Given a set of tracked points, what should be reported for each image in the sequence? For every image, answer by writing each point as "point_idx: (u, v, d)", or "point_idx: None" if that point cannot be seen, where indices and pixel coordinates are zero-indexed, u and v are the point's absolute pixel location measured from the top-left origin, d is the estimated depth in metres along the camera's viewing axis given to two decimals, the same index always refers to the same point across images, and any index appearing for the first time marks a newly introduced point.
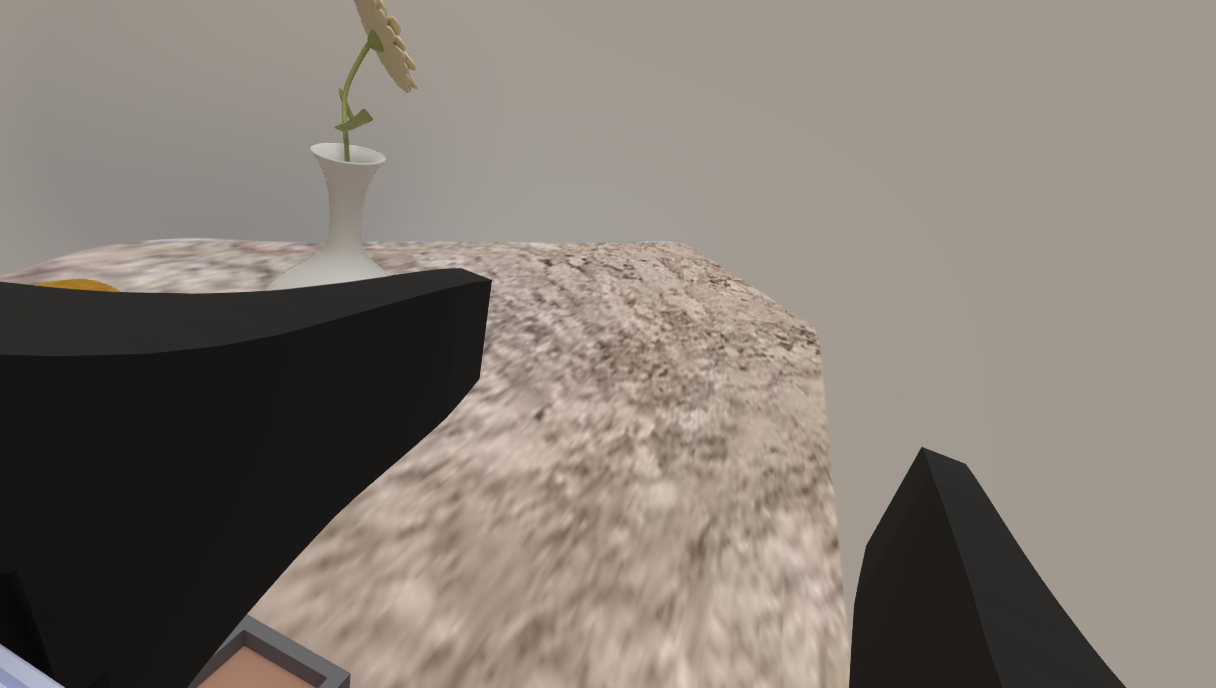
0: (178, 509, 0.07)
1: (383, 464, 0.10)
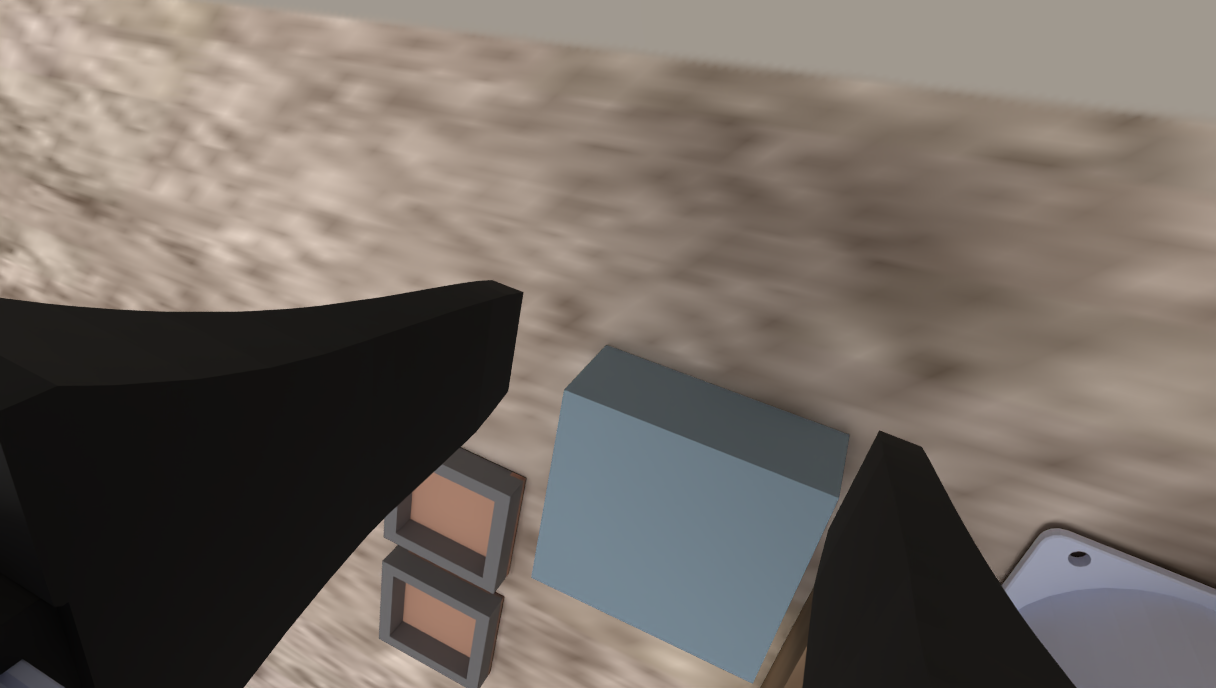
0: (223, 534, 0.07)
1: (416, 480, 0.10)
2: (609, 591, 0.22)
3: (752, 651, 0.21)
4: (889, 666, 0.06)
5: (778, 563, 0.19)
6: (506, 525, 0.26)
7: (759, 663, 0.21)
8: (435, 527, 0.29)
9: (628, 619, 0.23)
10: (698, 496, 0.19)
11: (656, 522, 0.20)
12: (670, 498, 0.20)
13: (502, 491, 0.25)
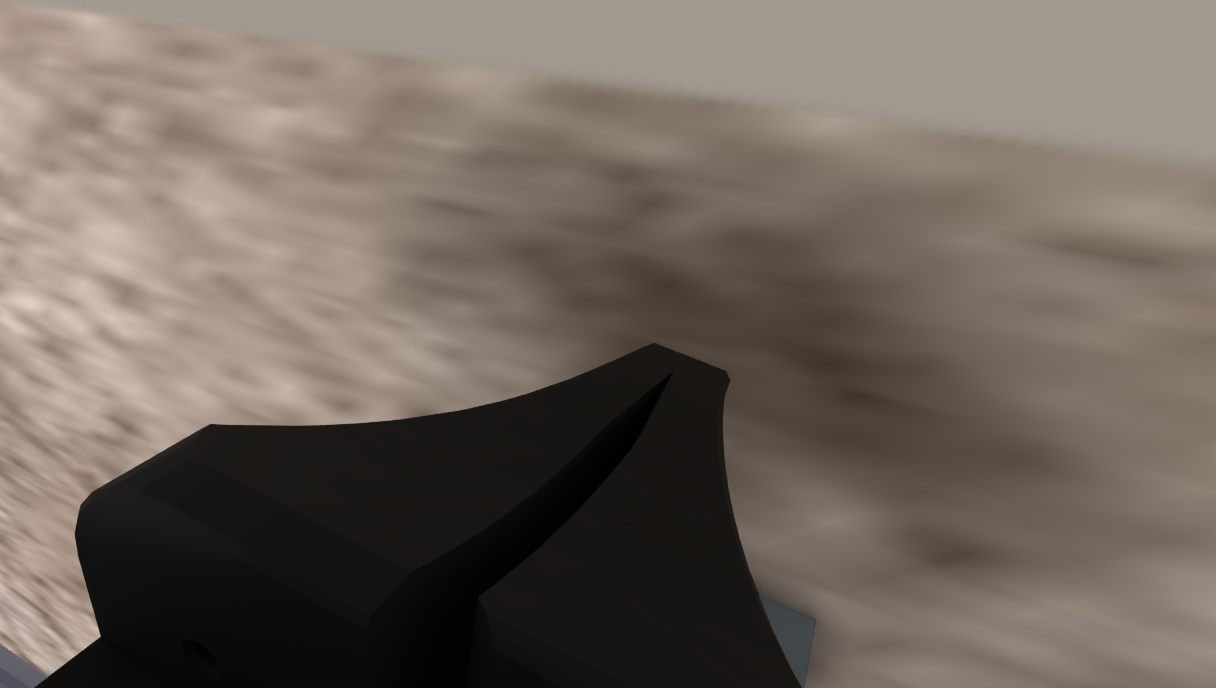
0: None
1: None
2: None
3: None
4: None
5: None
6: None
7: None
8: None
9: None
10: None
11: None
12: None
13: None
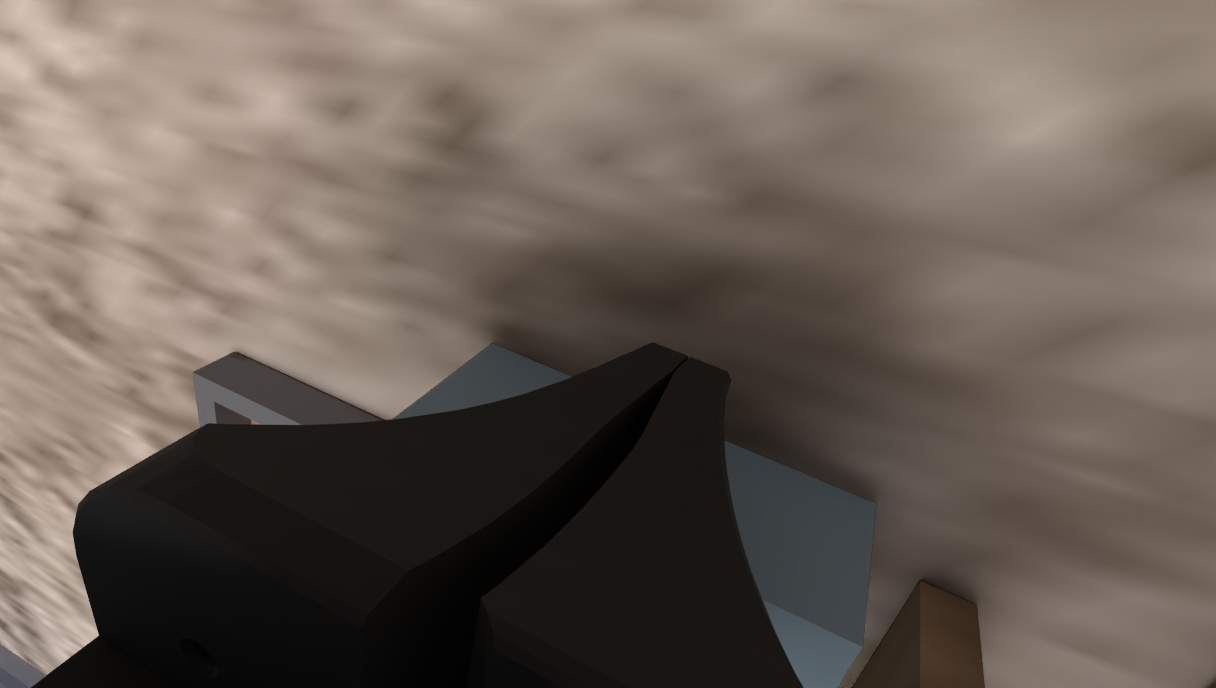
0: None
1: None
2: None
3: None
4: None
5: None
6: None
7: None
8: None
9: None
10: None
11: None
12: None
13: None
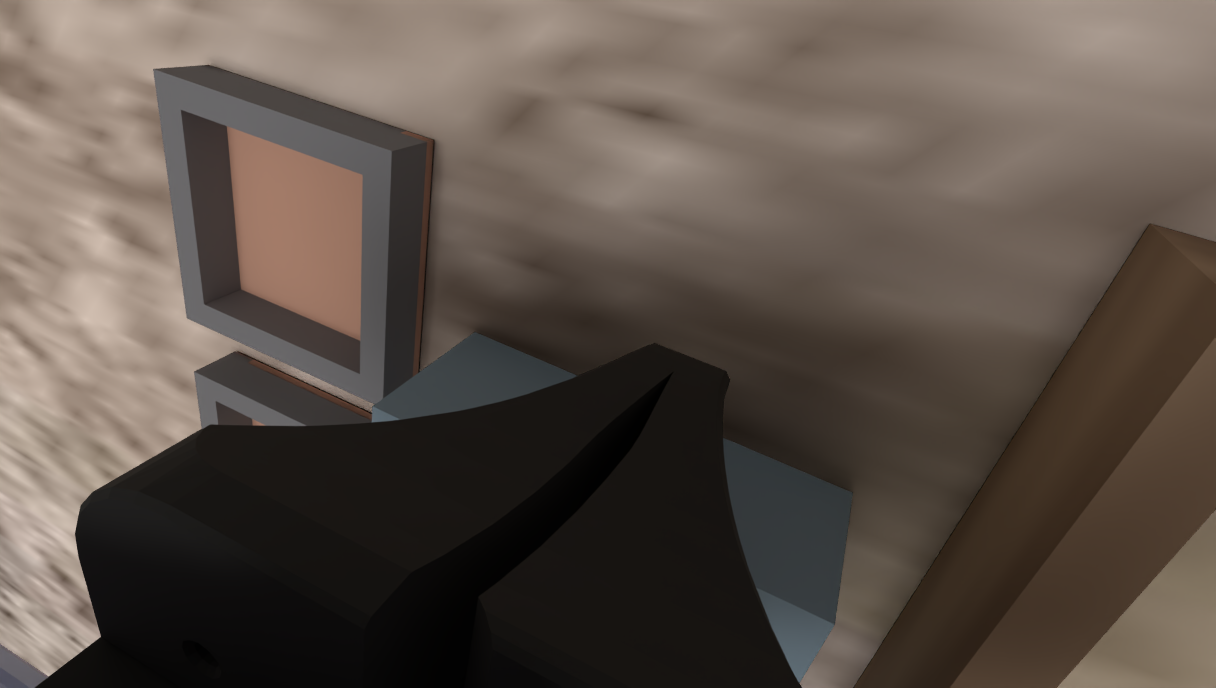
0: None
1: None
2: None
3: None
4: None
5: None
6: (392, 235, 0.12)
7: None
8: (282, 298, 0.16)
9: None
10: None
11: None
12: None
13: (376, 144, 0.12)
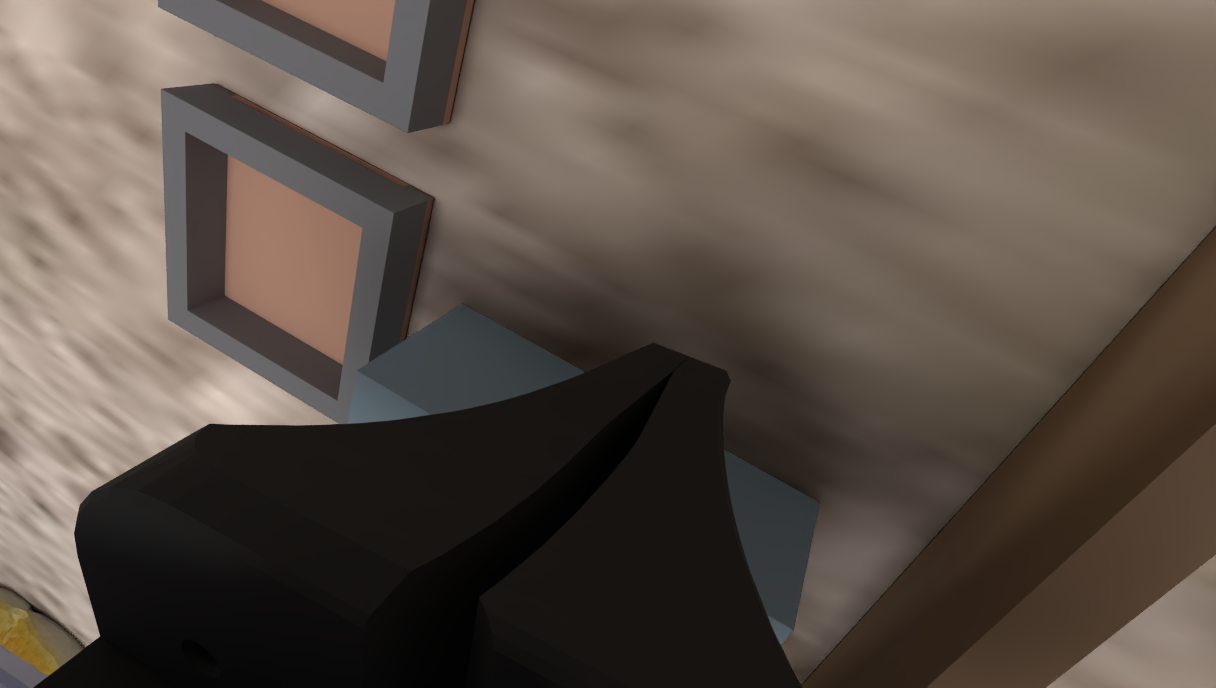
0: None
1: None
2: None
3: None
4: None
5: None
6: None
7: None
8: None
9: None
10: None
11: None
12: None
13: None
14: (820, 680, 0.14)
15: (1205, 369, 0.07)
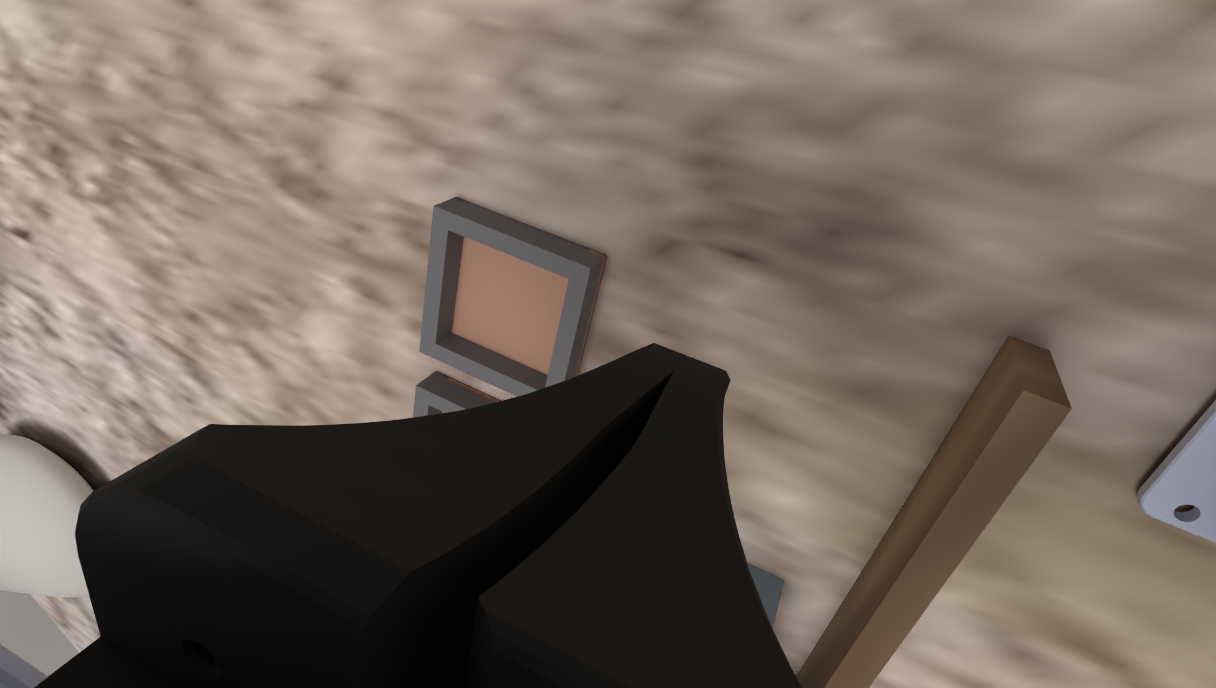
0: None
1: None
2: None
3: None
4: None
5: None
6: (581, 313, 0.21)
7: None
8: (483, 340, 0.24)
9: None
10: None
11: None
12: None
13: (580, 263, 0.20)
14: (800, 679, 0.24)
15: (914, 532, 0.18)
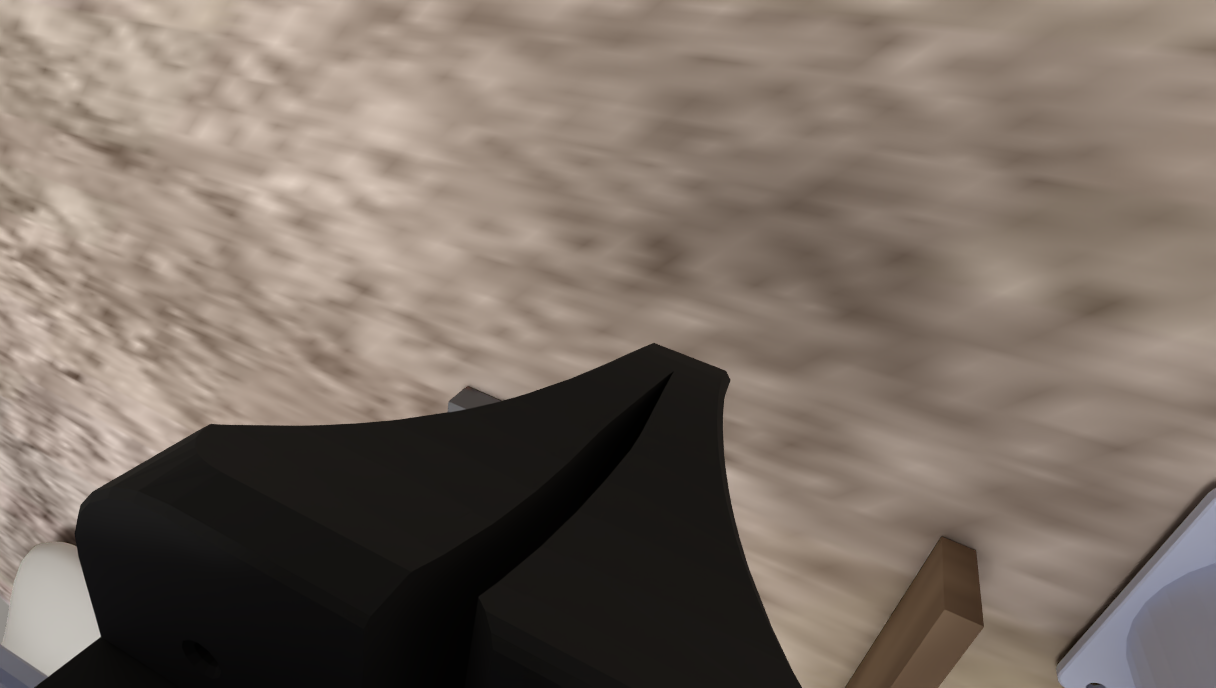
0: None
1: None
2: None
3: None
4: None
5: None
6: None
7: None
8: None
9: None
10: None
11: None
12: None
13: None
14: None
15: None
